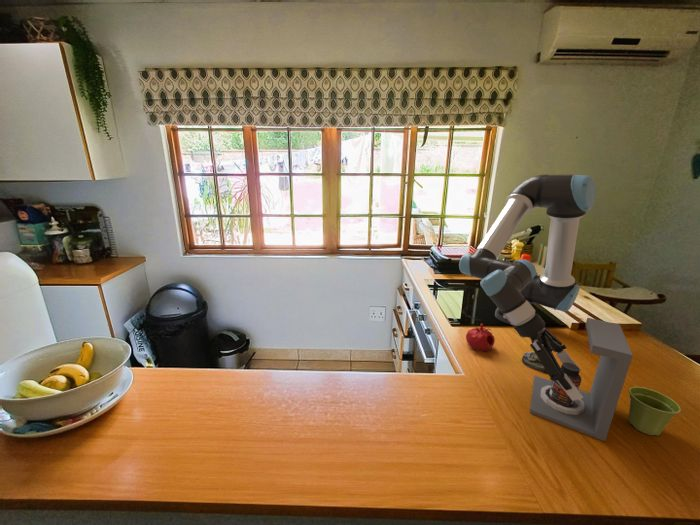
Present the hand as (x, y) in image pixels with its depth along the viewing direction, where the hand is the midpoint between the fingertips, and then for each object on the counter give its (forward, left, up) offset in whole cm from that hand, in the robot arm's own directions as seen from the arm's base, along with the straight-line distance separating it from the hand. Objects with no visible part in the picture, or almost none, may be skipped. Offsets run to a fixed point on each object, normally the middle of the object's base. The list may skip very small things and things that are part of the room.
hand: (576, 384), depth 82 cm
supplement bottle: (0, -2, -7) cm, 7 cm away
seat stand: (0, -1, -8) cm, 8 cm away
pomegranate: (-18, -28, -8) cm, 34 cm away
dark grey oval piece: (-19, -8, -8) cm, 22 cm away
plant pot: (-3, +16, -8) cm, 18 cm away
